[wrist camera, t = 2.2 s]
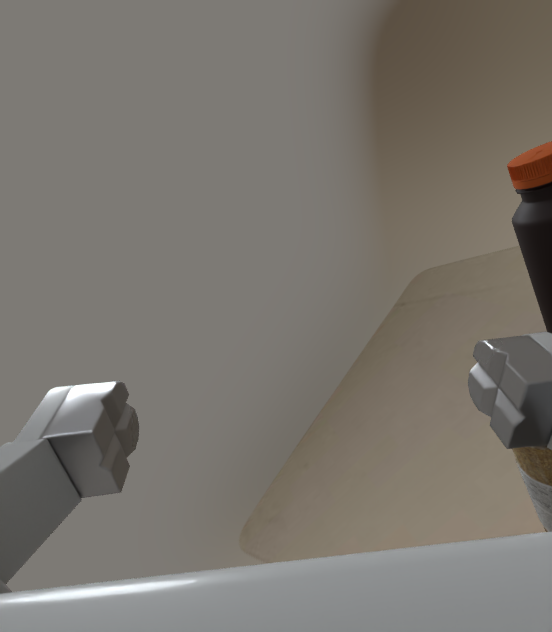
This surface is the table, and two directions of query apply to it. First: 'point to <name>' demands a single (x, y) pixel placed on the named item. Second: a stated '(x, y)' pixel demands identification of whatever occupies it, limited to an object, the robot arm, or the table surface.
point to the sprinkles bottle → (537, 479)
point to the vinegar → (535, 221)
